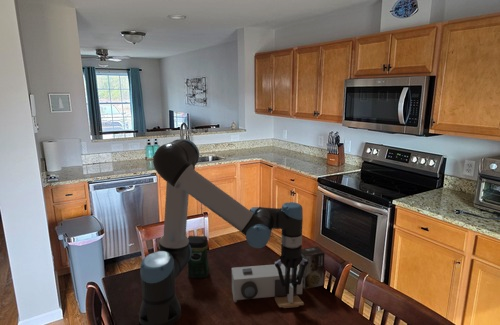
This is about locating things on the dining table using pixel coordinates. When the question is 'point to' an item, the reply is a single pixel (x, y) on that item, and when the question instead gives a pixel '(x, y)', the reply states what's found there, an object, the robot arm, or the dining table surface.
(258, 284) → the box
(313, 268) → the coffee box
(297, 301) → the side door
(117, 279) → the dining table surface
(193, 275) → the coffee jar
